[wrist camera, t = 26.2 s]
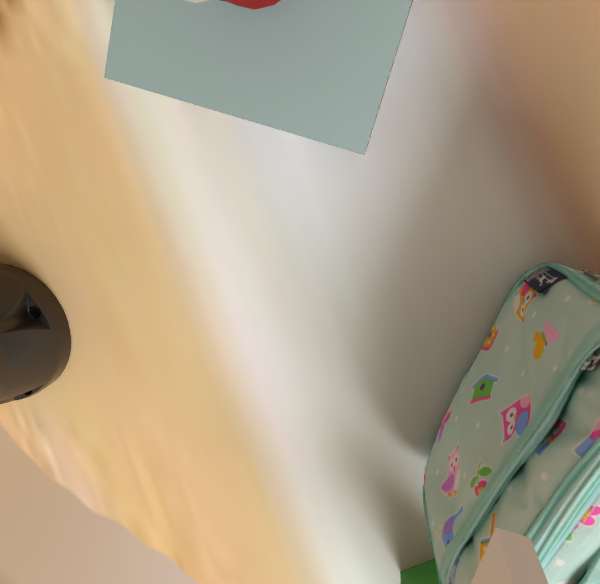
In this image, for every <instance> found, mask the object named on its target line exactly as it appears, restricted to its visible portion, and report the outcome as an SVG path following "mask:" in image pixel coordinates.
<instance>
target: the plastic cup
mask: <svg viewBox="0 0 600 584" xmlns="http://www.w3.org/2000/svg"><path fill="white" fill-rule="evenodd" d="M185 1H189V2H193V3H199V2H204V1H208V0H185ZM220 1H225V2H229V3H232V4H234V5H236V6H241V7H245V8H250V9H254V10H255V9H259V8H264V7H268V6H272V5H275V4H276V3H278V2H279V1H280V0H220Z"/></svg>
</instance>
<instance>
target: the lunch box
mask: <svg viewBox="0 0 600 584" xmlns="http://www.w3.org/2000/svg"><path fill="white" fill-rule="evenodd" d="M423 504H424V510H425V515H426V520H427V525H428V529H429V534H430V538H431V543H432V547H433V552H434V557H435V561H436V566H437V572H438V578H439V584H471V582H472V580H473V577H474V575H475V573H476V571H477V568H478V566H479V564H480V562H481V559H482V557H483V555H484V553H485V550H486V548H487V546H488V544H489V541H490V539H491V537H492V535H493V532H494V530H495V528H499V529H502V530H506V531H509V532H512V533H516V534H519V535H522V536H526V537H529V538H531V540H532V543H533V546H534V548H535V551H536V553H537V556H538V558H539V561H540V563H541V566H542V568H543V571H544V574H545V576H546V579H547V581H548V584H600V275H597V274H593V273H591V272H590V271H588V270H586V269H584V271H580V270H575V269H572V268H570V267H567V266H565V265H562V264H557V263H544V264H539V265H536V266H534V267H532V268H531V269H529V270H528V271H527V272H526V273H525V274H523V275H522V277H521V278H520V279H519V280H518V281H517V283H516V284H515V285H514V287H513V288H512V290H511V292H510V293H509V295H508V297H507V298H506V300H505V302H504V304H503V306H502V308H501V310H500V312H499V314H498V316H497V318H496V320H495V322H494V324H493V326H492V327H491V329H490V332H489V334H488V336H487V338H486V340H485V342H484V344H483V346H482V347H481V349H480V351H479V353H478V355H477V357H476V359H475V360H474V362H473V364H472V366H471V367H470V369H469V371H468V373H467V374H465V375H464V377H463V379H462V381H461V384H460V386H459V389H458V391H457V392H456V394H455V396H454V398H453V400H452V402H451V404H450V406H449V408H448V410H447V412H446V414H445V416H444V419H443V421H442V423H441V425H440V428H439V430H438V433H437V435H436V438H435V441H434V443H433V446H432V449H431V453H430V456H429V458H428V461H427V464H426V467H425V475H424V486H423Z"/></svg>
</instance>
